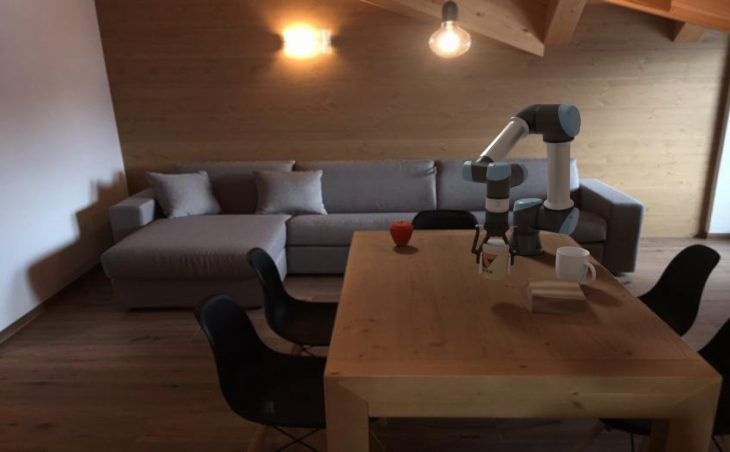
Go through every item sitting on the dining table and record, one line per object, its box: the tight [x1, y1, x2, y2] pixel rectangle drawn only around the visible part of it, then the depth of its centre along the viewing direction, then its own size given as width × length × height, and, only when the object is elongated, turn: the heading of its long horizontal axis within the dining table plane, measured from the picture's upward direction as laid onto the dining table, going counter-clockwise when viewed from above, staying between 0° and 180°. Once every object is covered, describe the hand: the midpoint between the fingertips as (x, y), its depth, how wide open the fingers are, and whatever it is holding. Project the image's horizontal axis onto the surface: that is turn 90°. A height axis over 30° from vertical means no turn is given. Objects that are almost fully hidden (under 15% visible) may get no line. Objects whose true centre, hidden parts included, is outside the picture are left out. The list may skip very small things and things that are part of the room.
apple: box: [389, 220, 414, 247], centre depth 230 cm, size 11×11×12 cm
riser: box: [526, 277, 587, 318], centre depth 166 cm, size 16×16×6 cm
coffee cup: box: [481, 238, 510, 281], centre depth 170 cm, size 9×9×12 cm
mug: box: [555, 246, 597, 287], centre depth 180 cm, size 15×11×13 cm
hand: (494, 272), depth 172 cm, fingers closed on coffee cup, 9 cm apart
